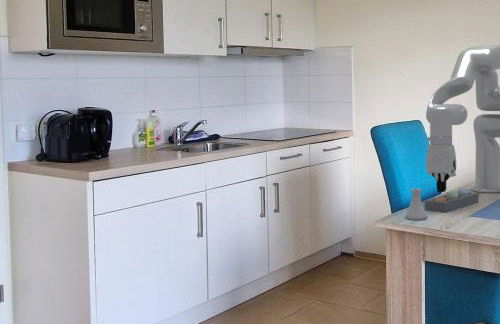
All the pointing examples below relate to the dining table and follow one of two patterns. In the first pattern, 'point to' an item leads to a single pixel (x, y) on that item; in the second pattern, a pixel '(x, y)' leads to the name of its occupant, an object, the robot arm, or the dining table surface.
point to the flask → (416, 207)
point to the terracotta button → (440, 199)
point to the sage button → (452, 194)
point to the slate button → (463, 191)
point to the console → (451, 202)
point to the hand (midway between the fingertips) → (441, 191)
